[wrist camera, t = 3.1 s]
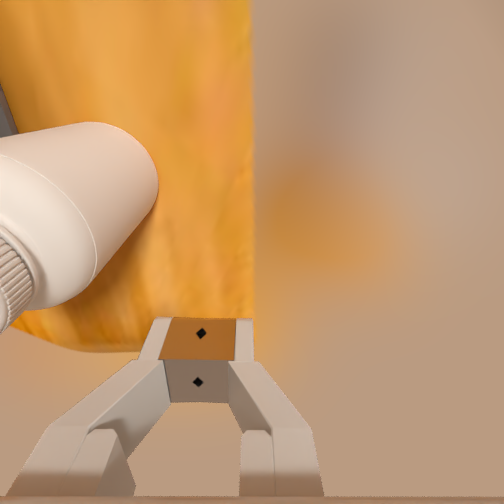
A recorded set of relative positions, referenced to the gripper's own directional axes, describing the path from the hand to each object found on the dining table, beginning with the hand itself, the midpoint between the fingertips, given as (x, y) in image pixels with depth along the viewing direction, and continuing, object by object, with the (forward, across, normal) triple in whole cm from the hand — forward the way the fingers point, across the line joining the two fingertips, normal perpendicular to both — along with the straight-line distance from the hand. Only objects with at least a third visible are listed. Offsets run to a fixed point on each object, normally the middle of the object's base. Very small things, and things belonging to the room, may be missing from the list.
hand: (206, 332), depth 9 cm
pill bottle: (+16, +10, -1) cm, 19 cm away
